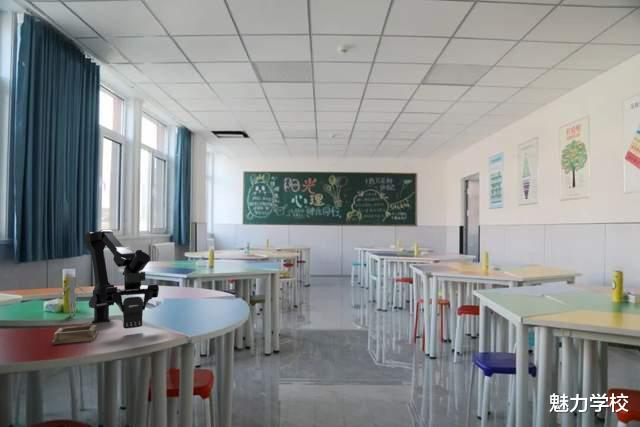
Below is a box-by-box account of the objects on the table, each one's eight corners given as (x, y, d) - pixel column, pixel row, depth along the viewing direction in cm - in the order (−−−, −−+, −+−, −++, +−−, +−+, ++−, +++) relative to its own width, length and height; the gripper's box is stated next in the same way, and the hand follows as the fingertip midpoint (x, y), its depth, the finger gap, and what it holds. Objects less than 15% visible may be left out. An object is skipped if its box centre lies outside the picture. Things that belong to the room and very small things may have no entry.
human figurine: (86, 312, 192) (87, 275, 192) (87, 314, 188) (88, 275, 189) (56, 316, 185) (57, 277, 185) (57, 317, 181) (57, 277, 182)
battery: (123, 329, 149) (123, 299, 150) (122, 327, 153) (122, 297, 153) (143, 327, 153) (143, 297, 153) (142, 325, 156) (142, 295, 157)
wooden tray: (58, 337, 149) (58, 327, 149) (98, 333, 154) (98, 324, 154) (51, 344, 139) (51, 334, 139) (94, 340, 144) (94, 330, 144)
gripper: (106, 266, 153) (105, 300, 143) (158, 264, 161) (161, 295, 151) (105, 284, 159) (105, 318, 149) (156, 281, 168) (158, 312, 158)
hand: (133, 310), depth 152 cm, fingers closed on battery, 7 cm apart
